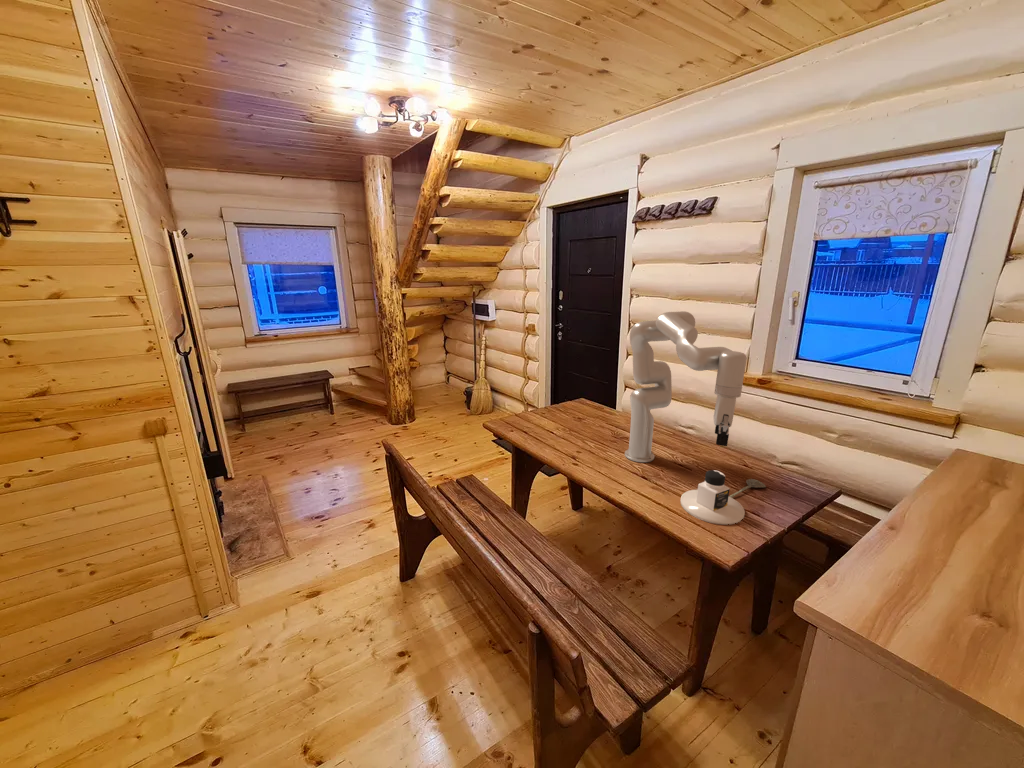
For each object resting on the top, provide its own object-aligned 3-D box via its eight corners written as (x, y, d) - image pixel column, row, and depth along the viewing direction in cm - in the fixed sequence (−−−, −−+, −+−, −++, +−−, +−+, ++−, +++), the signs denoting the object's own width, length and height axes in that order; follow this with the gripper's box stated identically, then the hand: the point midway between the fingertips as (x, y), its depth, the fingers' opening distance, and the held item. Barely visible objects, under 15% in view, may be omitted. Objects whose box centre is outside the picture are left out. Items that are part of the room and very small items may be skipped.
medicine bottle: (713, 512, 136) (718, 479, 132) (695, 501, 142) (699, 470, 138) (727, 506, 139) (732, 474, 135) (709, 496, 145) (713, 466, 142)
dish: (681, 488, 153) (681, 485, 153) (741, 499, 145) (741, 496, 145) (679, 516, 135) (679, 513, 135) (747, 530, 128) (748, 527, 127)
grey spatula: (769, 489, 154) (751, 482, 159) (770, 481, 153) (752, 474, 159) (736, 504, 143) (719, 496, 148) (737, 495, 142) (720, 488, 147)
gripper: (714, 382, 138) (707, 428, 143) (716, 396, 123) (708, 447, 128) (738, 384, 135) (731, 431, 140) (744, 399, 120) (735, 451, 125)
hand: (720, 439), depth 134 cm, fingers open, 9 cm apart
